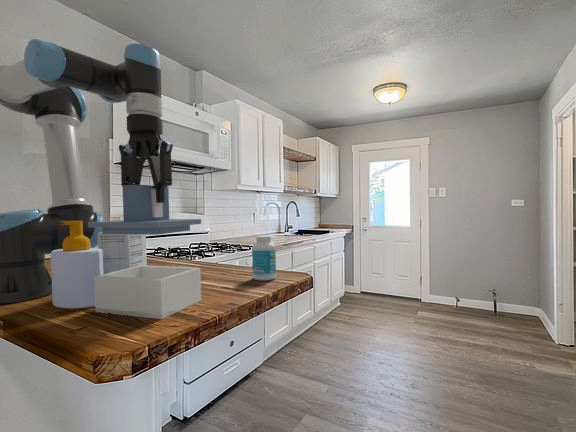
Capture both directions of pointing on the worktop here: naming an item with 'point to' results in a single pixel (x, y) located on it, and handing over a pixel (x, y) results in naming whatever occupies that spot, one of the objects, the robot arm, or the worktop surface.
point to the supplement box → (122, 251)
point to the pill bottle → (264, 259)
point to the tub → (147, 291)
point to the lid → (143, 215)
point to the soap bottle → (75, 270)
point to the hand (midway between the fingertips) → (147, 217)
